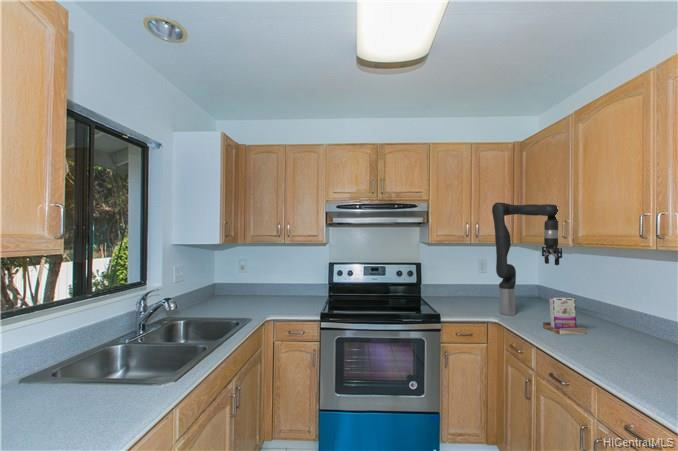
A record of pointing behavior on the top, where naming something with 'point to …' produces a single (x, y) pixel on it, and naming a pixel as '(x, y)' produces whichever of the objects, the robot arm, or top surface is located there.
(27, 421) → the top surface
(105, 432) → the top surface
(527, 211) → the robot arm
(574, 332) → the shelf
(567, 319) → the candy bar box
